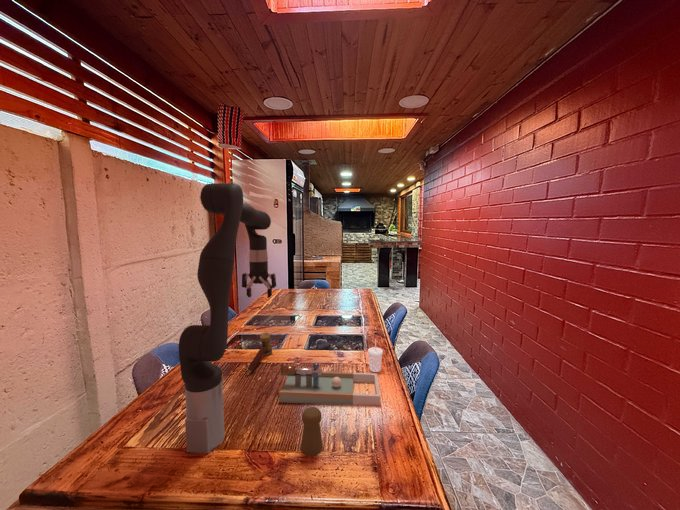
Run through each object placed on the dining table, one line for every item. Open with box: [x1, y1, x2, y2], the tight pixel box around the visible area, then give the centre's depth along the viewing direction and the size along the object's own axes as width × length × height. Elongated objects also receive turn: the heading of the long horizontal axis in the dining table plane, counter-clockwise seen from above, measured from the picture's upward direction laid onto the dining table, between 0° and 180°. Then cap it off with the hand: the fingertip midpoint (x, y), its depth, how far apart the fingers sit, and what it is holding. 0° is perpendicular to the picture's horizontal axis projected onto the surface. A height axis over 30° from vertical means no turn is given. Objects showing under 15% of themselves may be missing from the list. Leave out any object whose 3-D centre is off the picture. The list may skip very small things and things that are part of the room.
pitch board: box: [278, 370, 381, 406], centre depth 99 cm, size 14×34×7 cm, turn 87°
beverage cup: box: [367, 338, 384, 373], centre depth 113 cm, size 6×6×14 cm
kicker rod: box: [280, 362, 323, 387], centre depth 99 cm, size 3×14×8 cm, turn 87°
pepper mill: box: [300, 406, 324, 457], centre depth 74 cm, size 6×6×11 cm
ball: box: [332, 377, 341, 387], centre depth 99 cm, size 4×4×4 cm
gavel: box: [246, 332, 273, 376], centre depth 119 cm, size 21×5×10 cm, turn 171°
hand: (259, 297), depth 119 cm, fingers open, 8 cm apart
